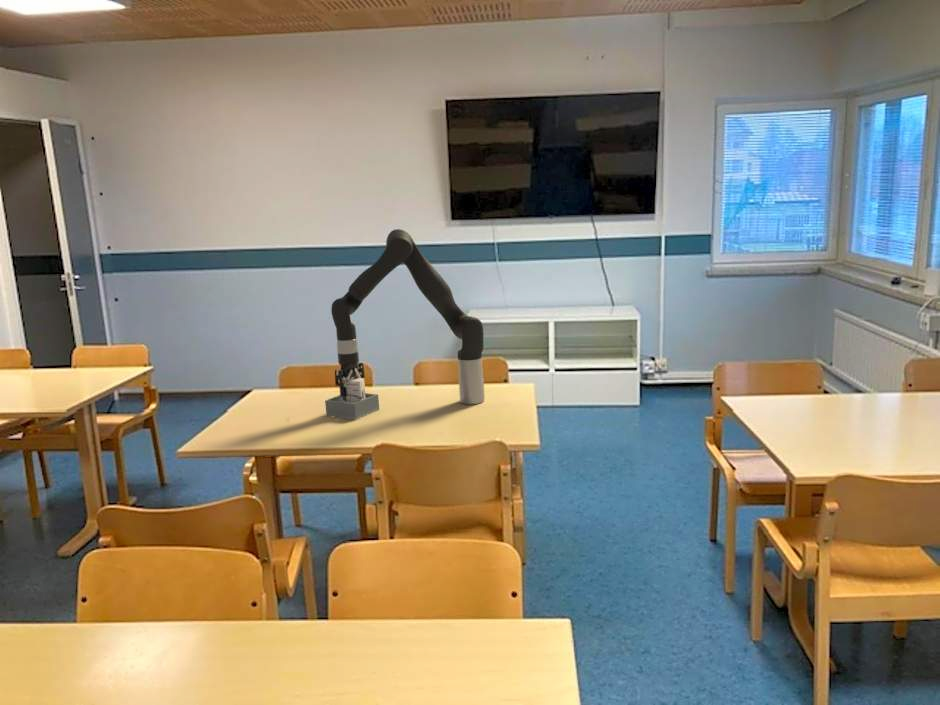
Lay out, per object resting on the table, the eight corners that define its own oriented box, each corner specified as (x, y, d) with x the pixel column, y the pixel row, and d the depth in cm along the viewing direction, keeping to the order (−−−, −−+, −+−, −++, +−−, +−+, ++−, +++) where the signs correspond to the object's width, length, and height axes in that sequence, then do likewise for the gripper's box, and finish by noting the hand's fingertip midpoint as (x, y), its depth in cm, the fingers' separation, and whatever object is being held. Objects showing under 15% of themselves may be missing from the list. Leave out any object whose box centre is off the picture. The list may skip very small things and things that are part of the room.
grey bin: (350, 406, 285) (349, 391, 283) (379, 409, 278) (378, 394, 276) (326, 416, 273) (325, 400, 272) (356, 420, 266) (354, 404, 265)
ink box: (340, 411, 274) (338, 381, 272) (345, 407, 279) (342, 378, 276) (362, 411, 272) (359, 381, 270) (367, 408, 277) (364, 378, 275)
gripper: (343, 355, 262) (347, 399, 266) (367, 347, 274) (371, 389, 278) (327, 354, 266) (331, 397, 269) (352, 346, 278) (355, 387, 281)
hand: (351, 393), depth 274 cm, fingers open, 8 cm apart
